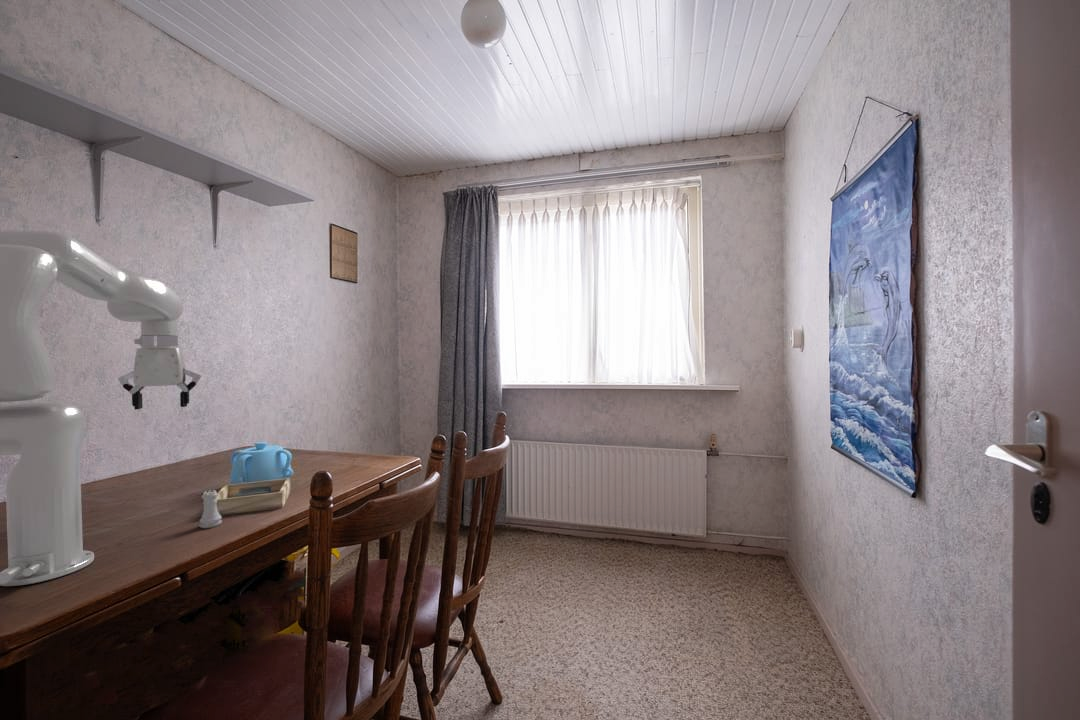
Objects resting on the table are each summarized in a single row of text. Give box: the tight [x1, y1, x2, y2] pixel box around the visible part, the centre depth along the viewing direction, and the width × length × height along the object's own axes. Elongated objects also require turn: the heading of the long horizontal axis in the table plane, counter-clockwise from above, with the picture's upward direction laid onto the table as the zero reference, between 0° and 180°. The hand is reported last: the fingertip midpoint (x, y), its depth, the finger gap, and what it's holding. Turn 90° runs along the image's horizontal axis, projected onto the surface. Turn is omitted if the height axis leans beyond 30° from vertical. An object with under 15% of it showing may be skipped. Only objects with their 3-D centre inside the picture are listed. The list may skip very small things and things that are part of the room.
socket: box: [233, 485, 272, 497], centre depth 125 cm, size 8×8×3 cm
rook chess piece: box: [198, 489, 223, 529], centre depth 108 cm, size 4×4×8 cm
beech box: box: [216, 477, 291, 517], centre depth 125 cm, size 16×16×4 cm
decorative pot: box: [229, 441, 294, 484], centre depth 142 cm, size 16×16×14 cm
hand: (161, 407), depth 122 cm, fingers open, 9 cm apart
